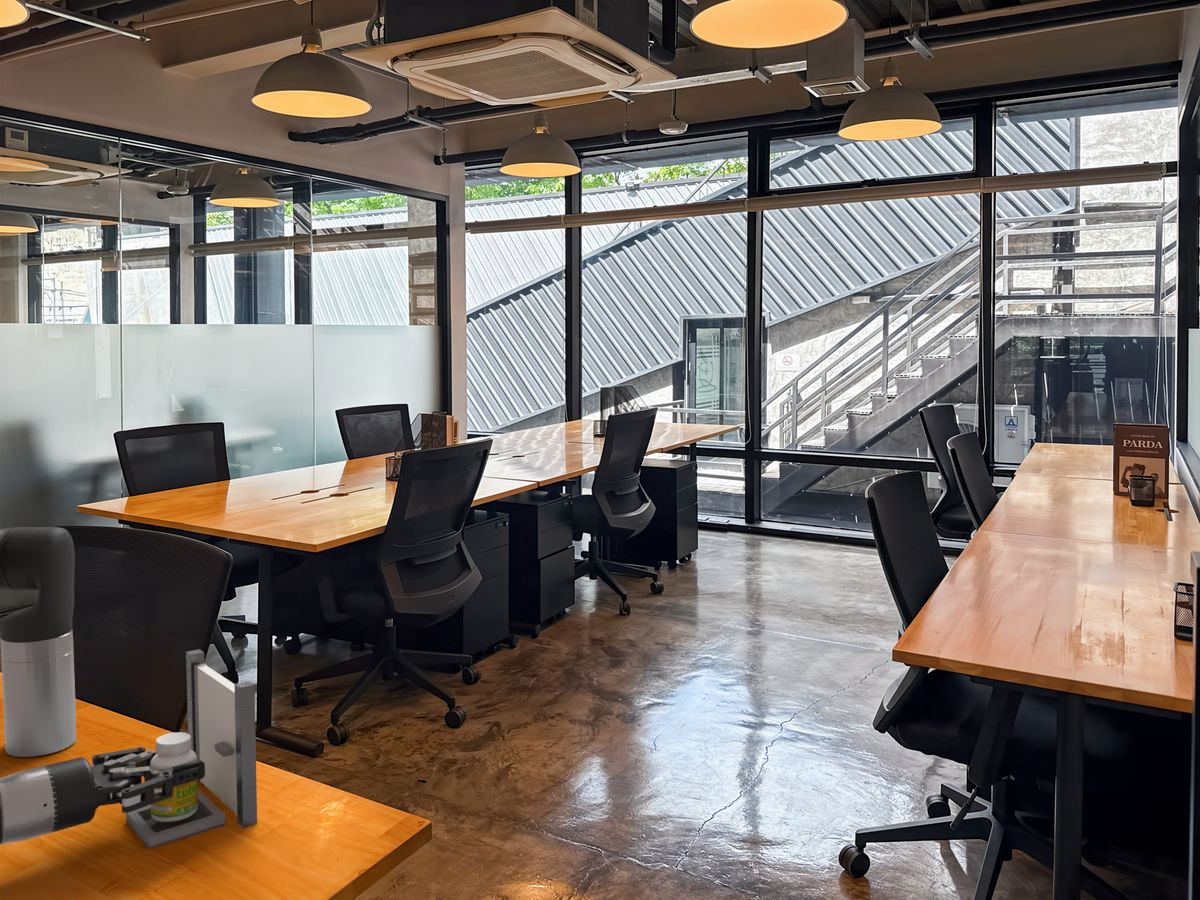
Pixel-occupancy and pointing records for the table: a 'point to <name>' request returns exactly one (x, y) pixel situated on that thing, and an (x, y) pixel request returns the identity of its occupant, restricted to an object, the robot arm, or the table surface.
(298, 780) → the table surface
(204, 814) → the shallow tray
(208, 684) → the door
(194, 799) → the supplement bottle
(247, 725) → the door frame
